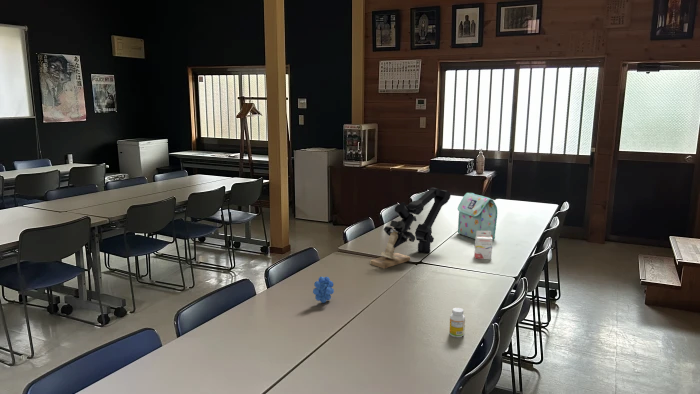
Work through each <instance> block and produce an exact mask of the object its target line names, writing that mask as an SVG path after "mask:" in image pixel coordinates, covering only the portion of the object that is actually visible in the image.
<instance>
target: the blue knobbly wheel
mask: <svg viewBox="0 0 700 394" xmlns="http://www.w3.org/2000/svg"><path fill="white" fill-rule="evenodd" d="M333 287H334V282H333V281H332V280H330V277H328V276H319V277H318V280H316V281H315V282H314V288H313V291H312V294H313V295H315V300H316V301H318V302H319V301H320V303H322V304H325V303H326V302H327V301H330V300H331V299H332V295H333V294H334V293H335V290H334V288H333Z"/></svg>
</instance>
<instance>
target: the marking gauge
mask: <svg viewBox="0 0 700 394" xmlns="http://www.w3.org/2000/svg"><path fill="white" fill-rule="evenodd" d="M397 239H398V235H397V232H394V231H393V233H391V234H390V236H389V237H388V241H387V244H386V248H385V250H384V251H381V253H380V256H381V257H383V256H385V257H388V258H391V259H394V260H395V258H396V256H394V255H393V254H394V253H395V250H396V248H394V247H393V246H394V244H395V242H396V241H397Z"/></svg>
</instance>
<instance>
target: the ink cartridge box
mask: <svg viewBox="0 0 700 394" xmlns="http://www.w3.org/2000/svg"><path fill="white" fill-rule="evenodd" d="M483 232H484V233H486V234H481V233H483ZM493 240H494V239H492V237H491V231H476V237H475V239H474V255H473V256H474V258H475V259H478V260H492V253H493Z"/></svg>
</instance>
